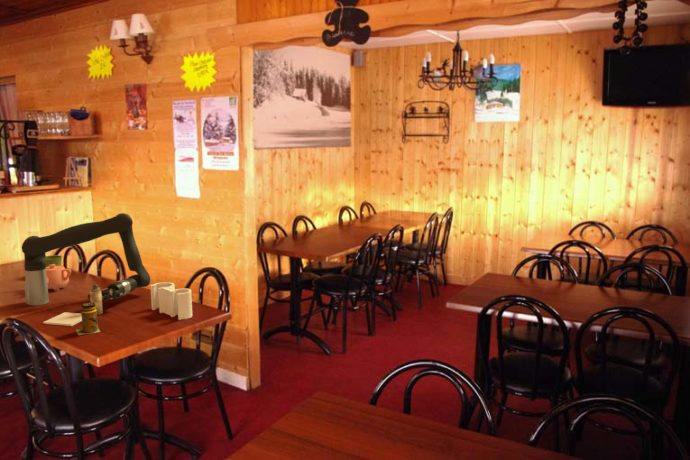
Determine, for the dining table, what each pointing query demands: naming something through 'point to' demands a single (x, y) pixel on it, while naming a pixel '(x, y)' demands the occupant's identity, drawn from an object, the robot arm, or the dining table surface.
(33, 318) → the dining table surface
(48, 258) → the plant pot
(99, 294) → the pepper mill
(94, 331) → the condiment
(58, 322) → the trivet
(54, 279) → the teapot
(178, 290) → the cream triple cylinder
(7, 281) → the dining table surface
